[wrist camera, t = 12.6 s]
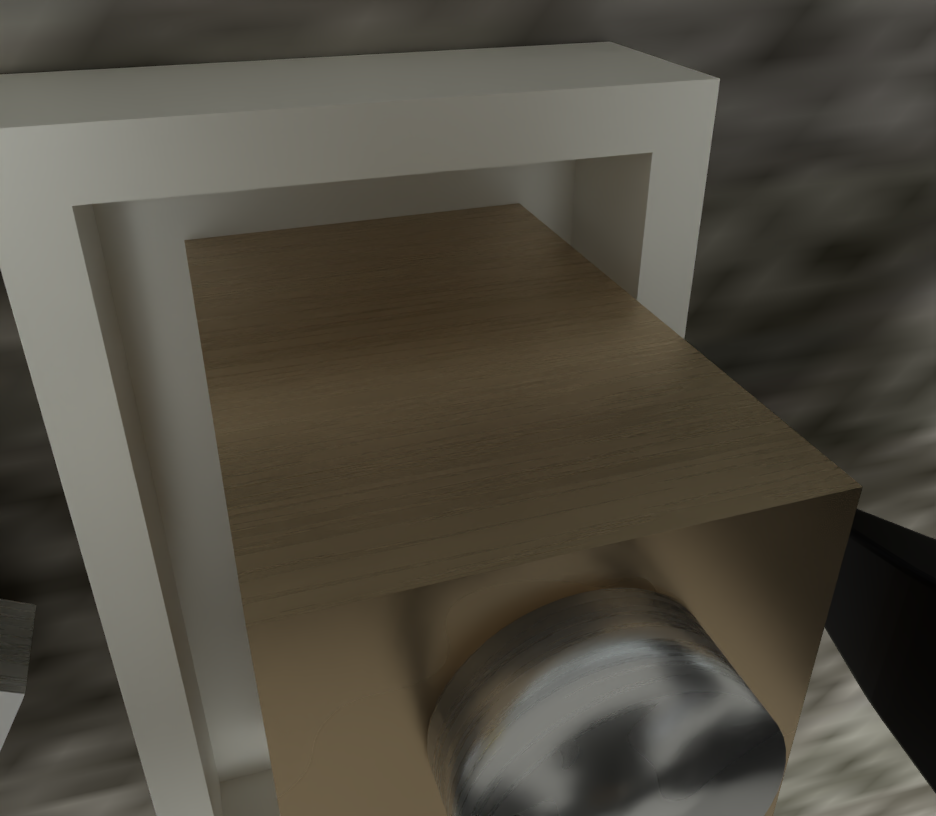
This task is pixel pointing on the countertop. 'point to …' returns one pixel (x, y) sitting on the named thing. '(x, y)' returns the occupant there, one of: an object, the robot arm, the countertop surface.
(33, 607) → the sprocket
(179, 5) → the countertop surface
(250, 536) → the link
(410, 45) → the countertop surface
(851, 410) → the countertop surface
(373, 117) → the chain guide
